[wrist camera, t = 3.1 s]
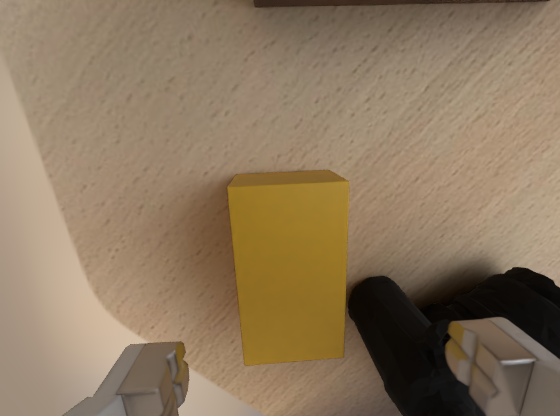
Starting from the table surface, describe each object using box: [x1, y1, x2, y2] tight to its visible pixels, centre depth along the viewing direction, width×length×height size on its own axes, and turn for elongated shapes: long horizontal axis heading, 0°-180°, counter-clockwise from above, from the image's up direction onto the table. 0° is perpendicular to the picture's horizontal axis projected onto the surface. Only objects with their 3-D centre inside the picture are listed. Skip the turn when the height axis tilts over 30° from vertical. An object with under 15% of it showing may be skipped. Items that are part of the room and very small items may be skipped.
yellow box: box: [227, 170, 349, 366], centre depth 13 cm, size 5×9×4 cm, turn 2°
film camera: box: [348, 267, 560, 416], centre depth 13 cm, size 15×10×9 cm, turn 39°
